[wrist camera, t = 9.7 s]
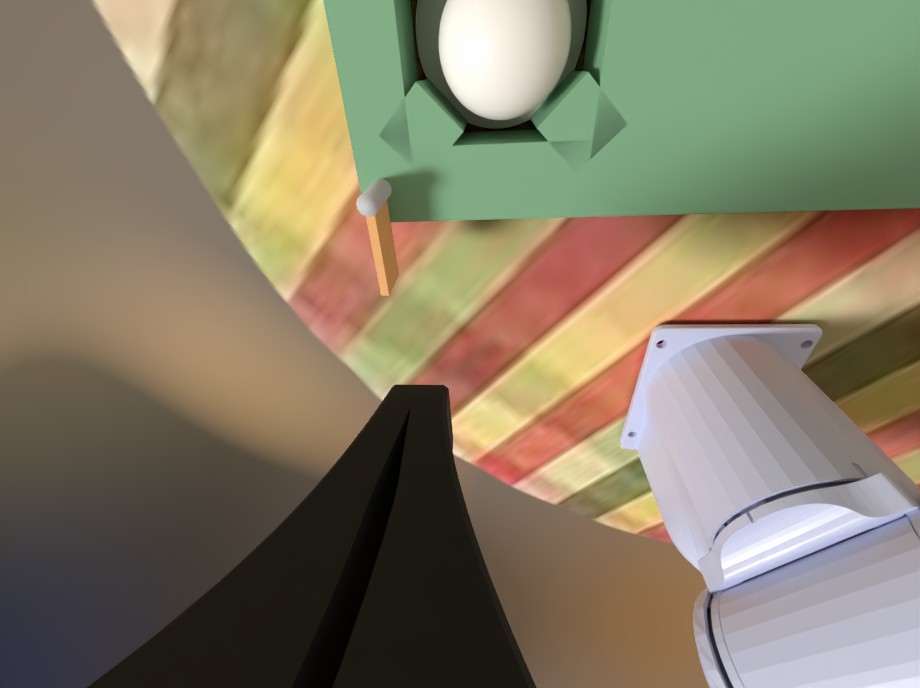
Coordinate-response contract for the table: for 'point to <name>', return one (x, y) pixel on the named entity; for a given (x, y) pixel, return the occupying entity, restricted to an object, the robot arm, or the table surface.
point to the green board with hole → (641, 115)
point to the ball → (504, 53)
